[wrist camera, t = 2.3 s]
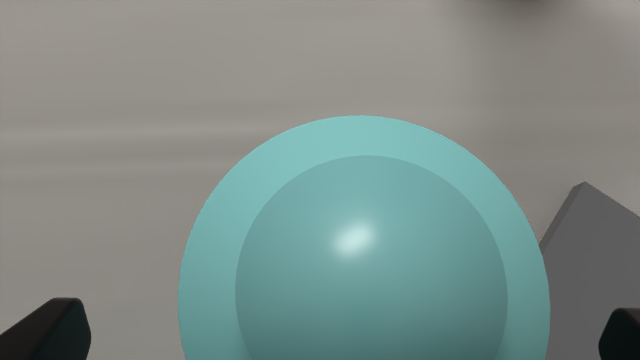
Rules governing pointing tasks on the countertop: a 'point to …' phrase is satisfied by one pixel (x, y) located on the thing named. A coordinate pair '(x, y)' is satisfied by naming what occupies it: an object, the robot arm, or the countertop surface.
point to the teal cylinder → (362, 253)
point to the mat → (589, 270)
